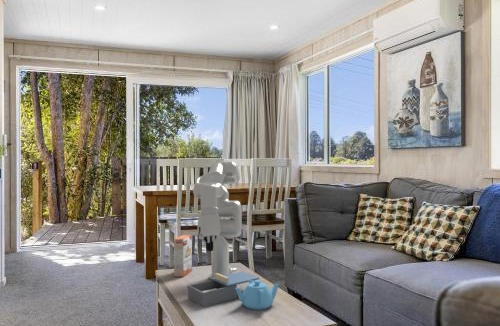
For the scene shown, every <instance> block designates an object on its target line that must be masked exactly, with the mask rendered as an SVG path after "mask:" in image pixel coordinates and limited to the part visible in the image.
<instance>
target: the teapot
mask: <svg viewBox="0 0 500 326" xmlns="http://www.w3.org/2000/svg"><path fill="white" fill-rule="evenodd" d="M279 286H280V284H279V283H274V284H273V287H272V288H271V289H270V287H269V286H268V285H267V283H265V282H263V281H262V282H261V280H260V279H258V280H254V281H252V280H249V282H248V284H247V285H246V287H245V288H244V290H243V292H242V290H241V288H240V287H237V288H235V289H236V291H237V297H238V298H239V301H240V302H241V303H242V305H243V306H244V307H245V308H246V309H249V310H254V311H256V310H257V311H259V310H266V309H268V308H270V307H271V306H272V305H273V303H274V300H275V298H276V295H277V293H278V288H279Z"/></svg>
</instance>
